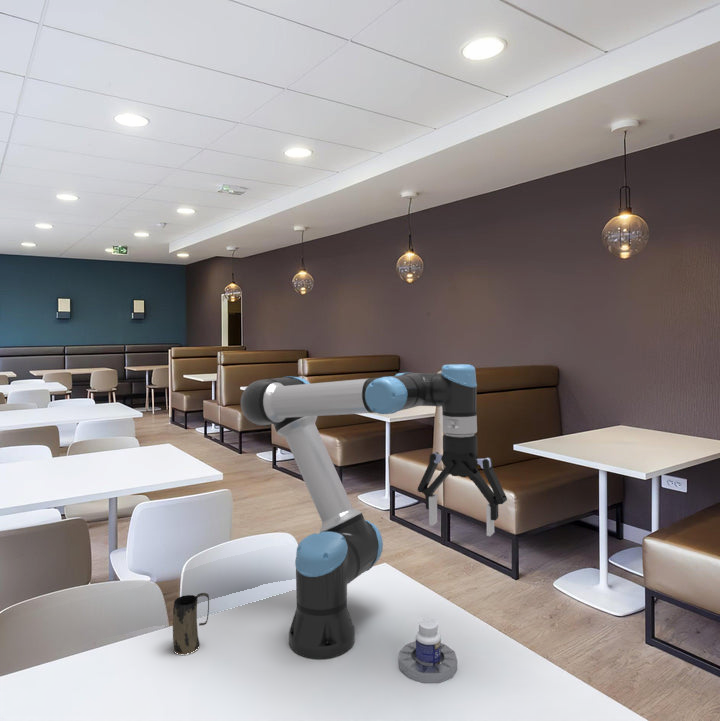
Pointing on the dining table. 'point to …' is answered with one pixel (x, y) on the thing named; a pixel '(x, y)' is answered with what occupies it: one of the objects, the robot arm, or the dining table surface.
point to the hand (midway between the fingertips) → (461, 529)
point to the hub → (427, 672)
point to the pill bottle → (428, 643)
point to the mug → (186, 623)
